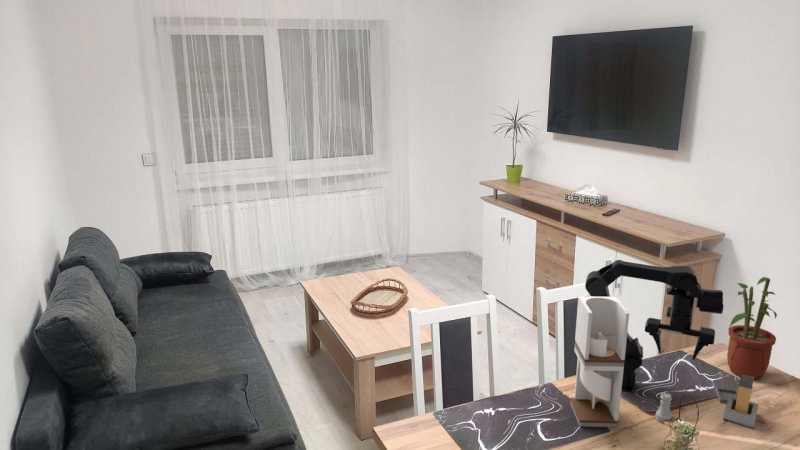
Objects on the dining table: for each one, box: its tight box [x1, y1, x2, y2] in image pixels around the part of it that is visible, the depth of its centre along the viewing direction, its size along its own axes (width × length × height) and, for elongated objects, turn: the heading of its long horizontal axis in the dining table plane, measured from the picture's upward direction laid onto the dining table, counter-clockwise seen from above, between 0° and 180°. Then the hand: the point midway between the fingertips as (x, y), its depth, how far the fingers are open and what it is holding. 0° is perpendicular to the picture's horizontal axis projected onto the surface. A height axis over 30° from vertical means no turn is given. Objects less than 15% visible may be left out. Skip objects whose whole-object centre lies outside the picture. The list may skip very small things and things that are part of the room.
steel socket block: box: [723, 396, 760, 430], centre depth 163 cm, size 7×8×4 cm
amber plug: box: [735, 374, 755, 414], centre depth 162 cm, size 3×4×12 cm
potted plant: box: [726, 276, 778, 380], centre depth 184 cm, size 17×16×35 cm
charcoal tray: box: [714, 386, 738, 404], centre depth 173 cm, size 6×7×2 cm
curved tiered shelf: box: [569, 295, 630, 428], centre depth 162 cm, size 11×11×35 cm
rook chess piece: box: [654, 391, 673, 424], centre depth 164 cm, size 4×4×8 cm
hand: (676, 356), depth 174 cm, fingers open, 9 cm apart
